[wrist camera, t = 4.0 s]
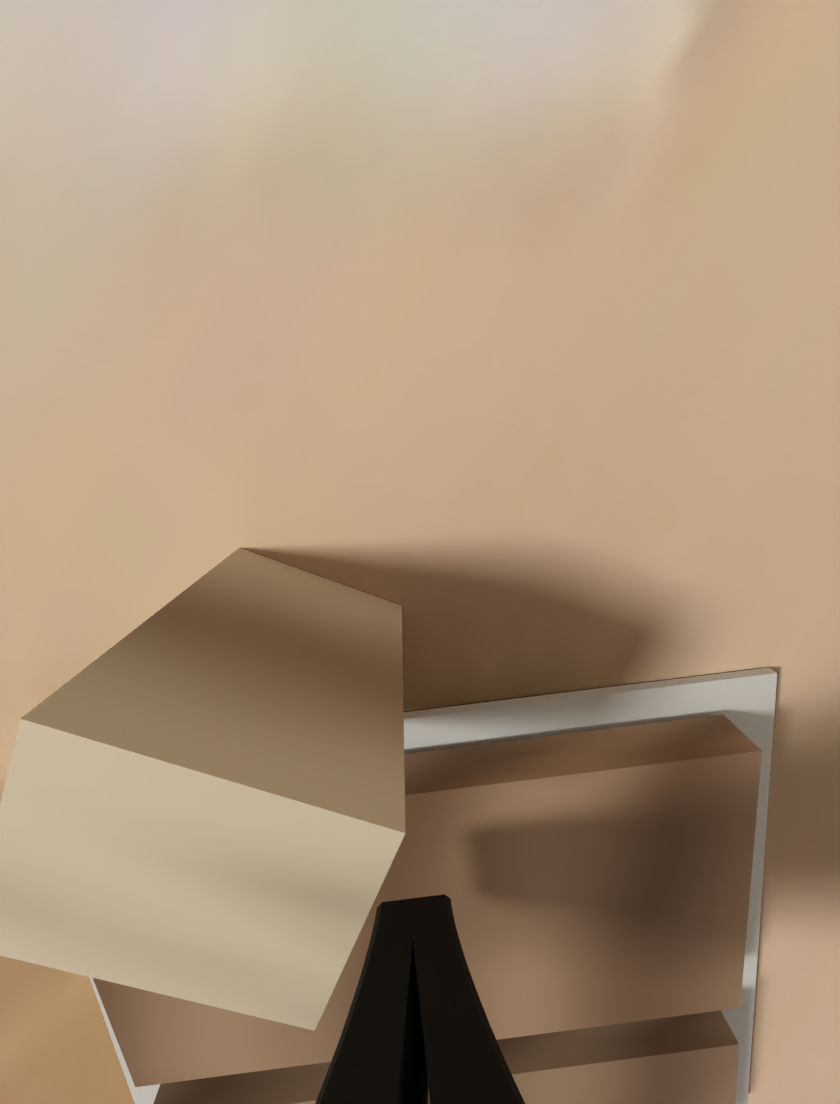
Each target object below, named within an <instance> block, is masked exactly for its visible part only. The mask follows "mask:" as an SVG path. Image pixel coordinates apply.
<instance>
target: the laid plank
mask: <svg viewBox="0 0 840 1104" xmlns="http://www.w3.org/2000/svg"><path fill="white" fill-rule="evenodd" d="M497 1042H498V1045H499V1047H500V1050H501V1052H502V1054H503V1056H504V1058H505V1061H506V1063H507V1065H508V1067H509V1070H510V1072H511V1074H512V1076H513V1078H514V1081H515V1083H516V1085H517V1087H518V1089H519V1091H520V1094H521V1096H522V1098H523V1100H524V1102H525V1104H736V1090H737V1073H738V1057H739V1043H738V1041H737V1039H736V1038H735V1036H734V1034H733V1032H732V1030H731V1028H730V1027H729V1025H728V1023H727V1021H726V1019H725V1018H724V1016H723V1014H722V1012H721V1010H720V1011H712V1012H704V1013H697V1014H689V1015H682V1016H674V1017H666V1018H659V1019H651V1020H644V1021H636V1022H628V1023H621V1024H613V1025H606V1026H598V1027H590V1028H583V1029H575V1030H568V1031H560V1032H552V1033H545V1034H537V1035H530V1036H522V1037H514V1038H507V1039H499V1040H497ZM330 1063H331V1062H324V1063H317V1064H309V1065H301V1066H294V1067H286V1068H278V1069H271V1070H263V1071H256V1072H248V1073H240V1074H233V1075H225V1076H218V1077H210V1078H202V1079H195V1080H187V1081H180V1082H172V1083H164V1084H160V1086H159V1089H158V1092H157V1095H156V1098H155V1100H154V1103H153V1104H315V1103H316V1100H317V1098H318V1095H319V1092H320V1090H321V1087H322V1084H323V1082H324V1079H325V1077H326V1074H327V1071H328V1069H329V1066H330ZM428 1104H430V1100H429V1091H428Z"/></svg>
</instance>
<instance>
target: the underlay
mask: <svg viewBox="0 0 840 1104" xmlns="http://www.w3.org/2000/svg"><path fill="white" fill-rule="evenodd" d="M776 684H777V673H776V672H775V671H773V670H772V669H770V668H769V667H768V668H760V669H752V670H744V671H736V672H728V673H720V674H711V675H703V676H695V677H687V678H679V679H671V680H663V681H655V682H646V683H638V684H630V685H622V686H614V687H606V688H598V689H589V690H581V691H573V692H565V693H557V694H549V695H541V696H532V697H524V698H516V699H508V700H500V701H492V702H484V703H476V704H467V705H459V706H451V707H443V708H435V709H427V710H419V711H410V712H404V754H408V753H416V752H424V751H432V750H440V749H448V748H456V747H464V746H472V745H480V744H489V743H497V742H505V741H513V740H521V739H529V738H537V737H545V736H553V735H561V734H569V733H577V732H585V731H593V730H601V729H610V728H618V727H626V726H634V725H642V724H650V723H658V722H666V721H674V720H682V719H690V718H698V717H706V716H714V715H722V714H723V715H724V716H725V717H726V718H728V719H729V720H730V721H731V722H732V723H733V724H734V725H735V726H736V727H737V728H738V729H739V730H740V731H741V732H743V733H744V734H745V735H746V736H747V737H748V738H749V739H750V740H751V741H752V742H753V743H754V744H755V745H757V746H758V747H759V748H760V749H761V750H762V758H761V769H760V781H759V793H758V805H757V817H756V828H755V840H754V852H753V864H752V875H751V887H750V899H749V911H748V922H747V934H746V946H745V958H744V970H743V981H742V993H741V1005H740V1008H735V1009H727V1010H721V1012H722V1014H723V1016H724V1018H725V1019H726V1021H727V1023H728V1025H729V1027H730V1028H731V1030H732V1032H733V1034H734V1036H735V1038H736V1039H737V1041H738V1043H739V1057H738V1073H737V1090H736V1104H747V1103H748V1089H749V1074H750V1060H751V1045H752V1031H753V1017H754V1002H755V988H756V973H757V959H758V944H759V930H760V916H761V901H762V887H763V872H764V858H765V843H766V829H767V814H768V800H769V786H770V771H771V757H772V742H773V728H774V713H775V699H776ZM90 980H91V983H92V986H93V989H94V991H95V994H96V997H97V1000H98V1002H99V1005H100V1008H101V1011H102V1014H103V1016H104V1019H105V1022H106V1025H107V1027H108V1030H109V1033H110V1036H111V1039H112V1041H113V1044H114V1047H115V1050H116V1052H117V1055H118V1058H119V1061H120V1064H121V1066H122V1069H123V1072H124V1075H125V1077H126V1080H127V1083H128V1086H129V1089H130V1091H131V1094H132V1097H133V1100H134V1102H135V1104H153V1103H154V1100H155V1098H156V1095H157V1092H158V1089H159V1086H160V1084H157V1085H149V1086H142V1087H135V1085H134V1082H133V1080H132V1077H131V1075H130V1072H129V1070H128V1067H127V1065H126V1062H125V1059H124V1057H123V1054H122V1052H121V1049H120V1047H119V1044H118V1042H117V1039H116V1036H115V1034H114V1031H113V1029H112V1026H111V1024H110V1021H109V1018H108V1016H107V1013H106V1011H105V1008H104V1006H103V1003H102V1001H101V998H100V995H99V993H98V990H97V988H96V985H95V983H94V980H93V978H92V977H90Z"/></svg>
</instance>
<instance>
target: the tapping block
mask: <svg viewBox="0 0 840 1104" xmlns="http://www.w3.org/2000/svg"><path fill="white" fill-rule="evenodd" d="M404 835H405V774H404V710H403V646H402V606H401V605H398V604H396V603H393V602H390V601H387V600H384V599H382V598H379V597H376V596H373V595H371V594H368V593H365V592H362V591H359V590H357V589H354V588H351V587H348V586H345V585H343V584H340V583H337V582H334V581H331V580H329V579H326V578H323V577H320V576H317V575H315V574H312V573H309V572H306V571H303V570H301V569H298V568H295V567H292V566H289V565H287V564H284V563H281V562H278V561H276V560H273V559H270V558H267V557H264V556H262V555H259V554H256V553H253V552H250V551H248V550H245V549H242V548H238V549H237V550H236V551H235V552H233V553H232V554H231V555H230V556H228V557H227V558H226V559H224V560H223V561H222V562H221V563H219V564H218V565H217V566H215V567H214V568H213V569H212V570H210V571H209V572H208V573H206V574H205V575H204V576H203V577H201V578H200V579H199V580H198V581H196V582H195V583H194V584H192V585H191V586H190V587H189V588H187V589H186V590H185V591H183V592H182V593H181V594H180V595H178V596H177V597H176V598H174V599H173V600H172V601H171V602H169V603H168V604H167V605H166V606H164V607H163V608H162V609H160V610H159V611H158V612H157V613H155V614H154V615H153V616H151V617H150V618H149V619H148V620H146V621H145V622H144V623H142V624H141V625H140V626H139V627H137V628H136V629H135V630H134V631H132V632H131V633H130V634H128V635H127V636H126V637H125V638H123V639H122V640H121V641H119V642H118V643H117V644H116V645H114V646H113V647H112V648H110V649H109V650H108V651H107V652H105V653H104V654H103V655H102V656H100V657H99V658H98V659H96V660H95V661H94V662H93V663H91V664H90V665H89V666H87V667H86V668H85V669H84V670H82V671H81V672H80V673H78V674H77V675H76V676H75V677H73V678H72V679H71V680H70V681H68V682H67V683H66V684H64V685H63V686H62V687H61V688H59V689H58V690H57V691H55V692H54V693H53V694H52V695H50V696H49V697H48V698H46V699H45V700H44V701H43V702H41V703H40V704H39V705H38V706H36V707H35V708H34V709H32V710H31V711H30V712H29V713H27V714H26V715H25V716H23V717H22V718H21V719H20V723H19V728H18V732H17V736H16V740H15V744H14V748H13V753H12V757H11V761H10V765H9V769H8V774H7V778H6V782H5V786H4V790H3V794H2V799H1V803H0V956H4V957H9V958H13V959H17V960H21V961H25V962H29V963H34V964H38V965H42V966H46V967H50V968H54V969H59V970H63V971H67V972H71V973H75V974H79V975H84V976H88V977H92V978H96V979H100V980H105V981H109V982H113V983H117V984H121V985H125V986H130V987H134V988H138V989H142V990H146V991H150V992H155V993H159V994H163V995H167V996H171V997H175V998H180V999H184V1000H188V1001H192V1002H196V1003H201V1004H205V1005H209V1006H213V1007H217V1008H221V1009H226V1010H230V1011H234V1012H238V1013H242V1014H246V1015H251V1016H255V1017H259V1018H263V1019H267V1020H272V1021H276V1022H280V1023H284V1024H288V1025H292V1026H297V1027H301V1028H305V1029H309V1030H313V1031H315V1029H316V1027H317V1025H318V1022H319V1020H320V1018H321V1016H322V1014H323V1012H324V1009H325V1007H326V1005H327V1003H328V1001H329V999H330V996H331V994H332V992H333V990H334V988H335V985H336V983H337V981H338V979H339V977H340V975H341V972H342V970H343V968H344V966H345V964H346V962H347V959H348V957H349V955H350V953H351V951H352V948H353V946H354V944H355V942H356V940H357V938H358V935H359V933H360V931H361V929H362V927H363V925H364V922H365V920H366V918H367V916H368V914H369V911H370V909H371V907H372V905H373V903H374V901H375V898H376V896H377V894H378V892H379V890H380V888H381V885H382V883H383V881H384V879H385V877H386V874H387V872H388V870H389V868H390V866H391V864H392V861H393V859H394V857H395V855H396V853H397V851H398V848H399V846H400V844H401V842H402V840H403V837H404Z"/></svg>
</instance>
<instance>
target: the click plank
mask: <svg viewBox="0 0 840 1104" xmlns="http://www.w3.org/2000/svg"><path fill="white" fill-rule="evenodd" d="M761 758H762V750H761V749H760V748H759V747H758V746H757V745H755V744H754V743H753V742H752V741H751V740H750V739H749V738H748V737H747V736H746V735H745V734H744V733H743V732H741V731H740V730H739V729H738V728H737V727H736V726H735V725H734V724H733V723H732V722H731V721H730V720H729V719H728V718H726V717H725V716H724V715H723V714H722V715H714V716H706V717H698V718H690V719H682V720H674V721H666V722H658V723H650V724H642V725H634V726H626V727H618V728H610V729H601V730H593V731H585V732H577V733H569V734H561V735H553V736H545V737H537V738H529V739H521V740H513V741H505V742H497V743H489V744H480V745H472V746H464V747H456V748H448V749H440V750H432V751H424V752H416V753H408V754H404V774H405V835H404V837H403V840H402V842H401V844H400V846H399V848H398V851H397V853H396V855H395V857H394V859H393V861H392V864H391V866H390V868H389V870H388V872H387V874H386V877H385V879H384V881H383V883H382V885H381V888H380V890H379V892H378V894H377V896H376V898H375V901H374V903H373V905H372V907H371V909H370V911H369V914H368V916H367V918H366V920H365V922H364V925H363V927H362V929H361V931H360V933H359V935H358V938H357V940H356V942H355V944H354V946H353V948H352V951H351V953H350V955H349V957H348V959H347V962H346V964H345V966H344V968H343V970H342V972H341V975H340V977H339V979H338V981H337V983H336V985H335V988H334V990H333V992H332V994H331V996H330V999H329V1001H328V1003H327V1005H326V1007H325V1009H324V1012H323V1014H322V1016H321V1018H320V1020H319V1022H318V1025H317V1027H316V1029H315V1031H313V1030H309V1029H305V1028H301V1027H297V1026H292V1025H288V1024H284V1023H280V1022H276V1021H272V1020H267V1019H263V1018H259V1017H255V1016H251V1015H246V1014H242V1013H238V1012H234V1011H230V1010H226V1009H221V1008H217V1007H213V1006H209V1005H205V1004H201V1003H196V1002H192V1001H188V1000H184V999H180V998H175V997H171V996H167V995H163V994H159V993H155V992H150V991H146V990H142V989H138V988H134V987H130V986H125V985H121V984H117V983H113V982H109V981H105V980H100V979H96V978H93V980H94V983H95V985H96V988H97V990H98V993H99V995H100V998H101V1001H102V1003H103V1006H104V1008H105V1011H106V1013H107V1016H108V1018H109V1021H110V1024H111V1026H112V1029H113V1031H114V1034H115V1036H116V1039H117V1042H118V1044H119V1047H120V1049H121V1052H122V1054H123V1057H124V1059H125V1062H126V1065H127V1067H128V1070H129V1072H130V1075H131V1077H132V1080H133V1082H134V1085H135V1087H142V1086H149V1085H157V1084H164V1083H172V1082H180V1081H187V1080H195V1079H202V1078H210V1077H218V1076H225V1075H233V1074H240V1073H248V1072H256V1071H263V1070H271V1069H278V1068H286V1067H294V1066H301V1065H309V1064H317V1063H324V1062H331V1061H332V1058H333V1056H334V1053H335V1050H336V1048H337V1045H338V1042H339V1039H340V1037H341V1034H342V1031H343V1028H344V1025H345V1022H346V1019H347V1016H348V1013H349V1010H350V1007H351V1004H352V1001H353V997H354V994H355V991H356V988H357V985H358V982H359V979H360V975H361V972H362V968H363V965H364V961H365V958H366V954H367V951H368V947H369V943H370V939H371V935H372V930H373V926H374V921H375V916H376V911H377V907H378V906H379V905H380V904H381V903H382V902H386V901H395V900H403V899H411V898H419V897H427V896H435V895H443V894H445V895H446V896H448V897H449V898H450V899H451V905H452V911H453V916H454V920H455V925H456V929H457V933H458V936H459V940H460V943H461V947H462V950H463V953H464V956H465V959H466V962H467V965H468V968H469V971H470V974H471V977H472V979H473V982H474V985H475V988H476V990H477V993H478V995H479V998H480V1001H481V1003H482V1006H483V1008H484V1011H485V1013H486V1016H487V1018H488V1021H489V1023H490V1026H491V1028H492V1031H493V1033H494V1035H495V1038H496V1040H499V1039H507V1038H514V1037H522V1036H530V1035H537V1034H545V1033H552V1032H560V1031H568V1030H575V1029H583V1028H590V1027H598V1026H606V1025H613V1024H621V1023H628V1022H636V1021H644V1020H651V1019H659V1018H666V1017H674V1016H682V1015H689V1014H697V1013H704V1012H712V1011H720V1010H727V1009H735V1008H740V1005H741V993H742V981H743V970H744V958H745V946H746V934H747V922H748V911H749V899H750V887H751V875H752V864H753V852H754V840H755V828H756V817H757V805H758V793H759V781H760V769H761Z"/></svg>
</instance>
